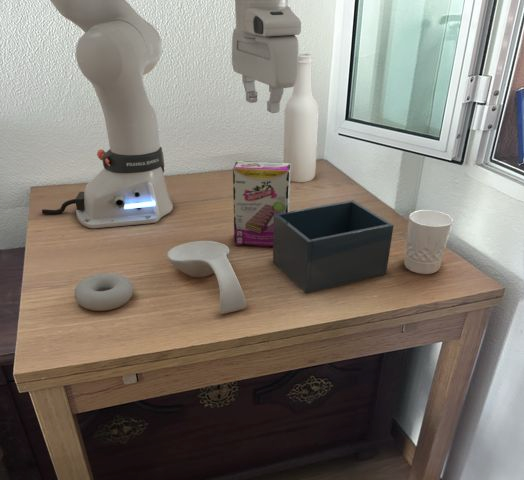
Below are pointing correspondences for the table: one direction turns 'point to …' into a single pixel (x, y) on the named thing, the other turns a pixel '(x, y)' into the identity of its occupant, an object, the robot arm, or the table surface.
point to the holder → (331, 245)
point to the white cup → (426, 240)
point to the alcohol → (301, 125)
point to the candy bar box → (259, 200)
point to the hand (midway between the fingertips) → (262, 107)
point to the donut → (103, 291)
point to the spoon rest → (210, 269)
